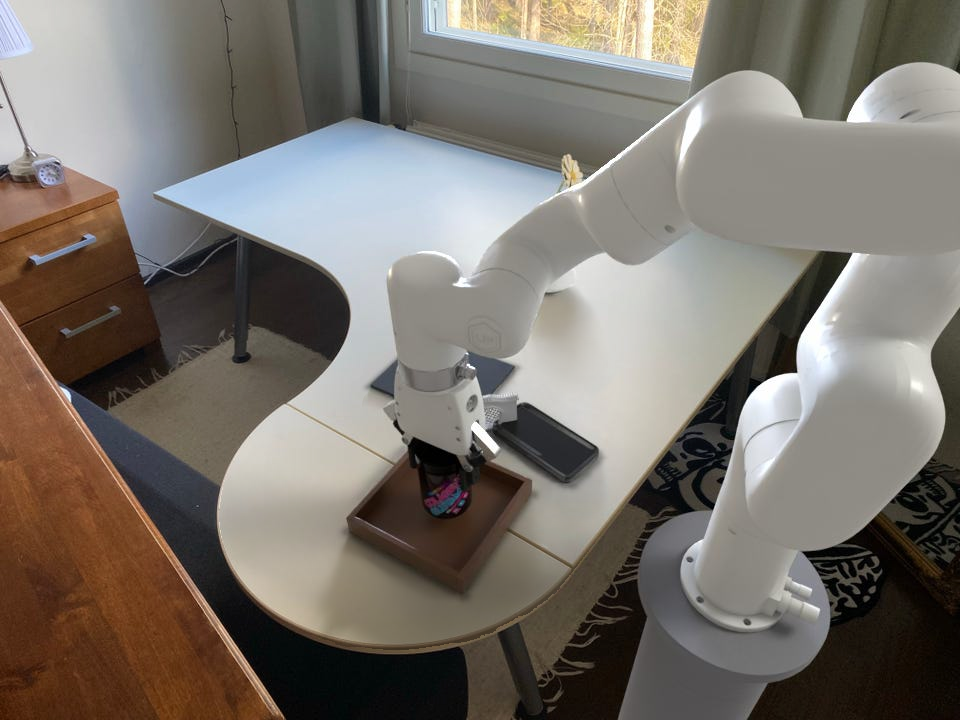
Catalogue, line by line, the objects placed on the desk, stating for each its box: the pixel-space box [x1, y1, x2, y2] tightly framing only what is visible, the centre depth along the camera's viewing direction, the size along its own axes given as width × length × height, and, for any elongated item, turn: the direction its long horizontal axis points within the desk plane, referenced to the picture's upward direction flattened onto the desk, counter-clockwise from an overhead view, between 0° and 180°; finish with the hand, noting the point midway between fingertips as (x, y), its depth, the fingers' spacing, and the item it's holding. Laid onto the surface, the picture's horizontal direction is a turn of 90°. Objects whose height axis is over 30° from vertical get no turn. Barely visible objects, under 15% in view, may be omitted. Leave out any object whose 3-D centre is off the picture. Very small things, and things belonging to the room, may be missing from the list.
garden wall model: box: [482, 391, 520, 431], centre depth 99 cm, size 12×2×6 cm, turn 103°
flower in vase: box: [545, 153, 584, 293], centre depth 124 cm, size 13×11×25 cm
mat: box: [370, 350, 516, 397], centre depth 110 cm, size 18×16×1 cm
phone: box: [492, 401, 600, 483], centre depth 98 cm, size 8×1×15 cm
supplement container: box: [414, 438, 472, 519], centre depth 84 cm, size 7×7×10 cm
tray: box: [345, 450, 533, 595], centre depth 88 cm, size 18×18×3 cm
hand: (444, 471), depth 83 cm, fingers closed on supplement container, 6 cm apart
